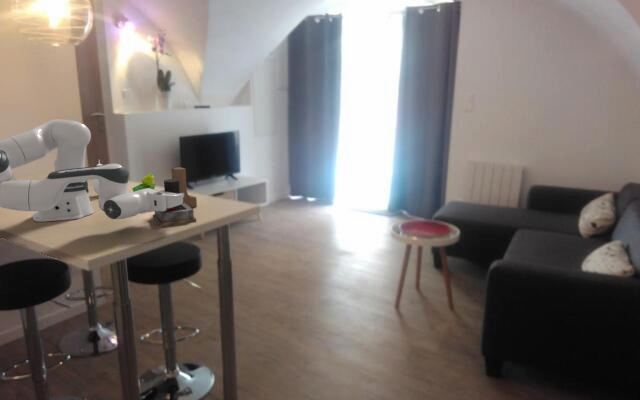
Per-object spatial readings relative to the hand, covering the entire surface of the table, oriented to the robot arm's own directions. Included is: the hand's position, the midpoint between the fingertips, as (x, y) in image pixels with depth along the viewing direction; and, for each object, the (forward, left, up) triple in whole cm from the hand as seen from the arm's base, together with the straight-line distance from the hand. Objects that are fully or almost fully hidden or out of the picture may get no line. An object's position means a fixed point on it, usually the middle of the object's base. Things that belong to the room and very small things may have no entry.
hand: (174, 193), depth 189 cm
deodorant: (-1, -1, -10) cm, 10 cm away
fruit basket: (-3, +46, -11) cm, 47 cm away
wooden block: (+8, +16, -11) cm, 21 cm away
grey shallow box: (-1, 0, -11) cm, 11 cm away
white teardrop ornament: (-21, +57, -11) cm, 61 cm away
